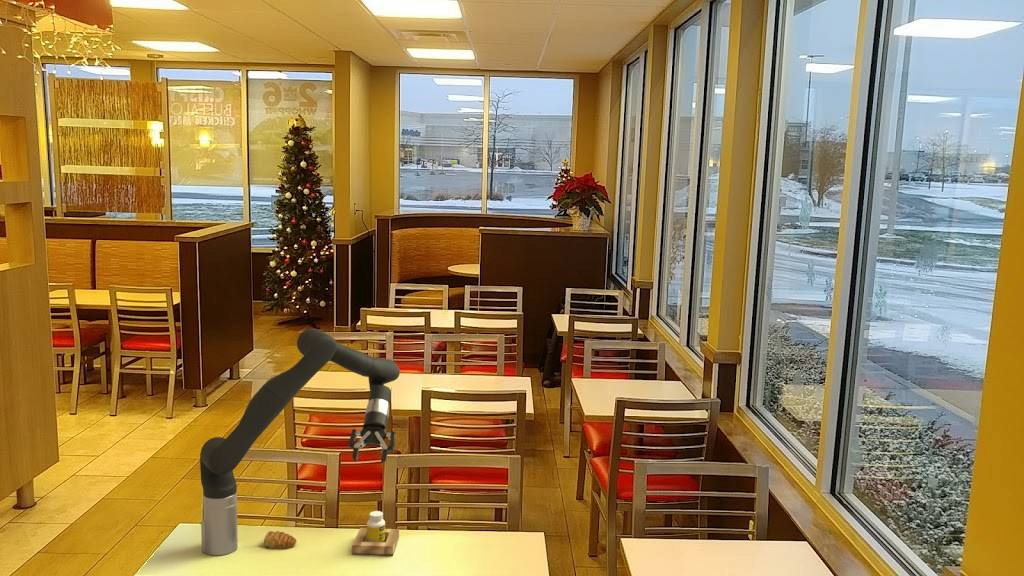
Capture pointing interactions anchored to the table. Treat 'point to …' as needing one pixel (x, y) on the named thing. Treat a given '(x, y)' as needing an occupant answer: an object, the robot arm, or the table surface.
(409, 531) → the table surface
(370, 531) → the supplement bottle
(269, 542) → the pastry
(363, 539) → the can holder
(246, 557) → the table surface
